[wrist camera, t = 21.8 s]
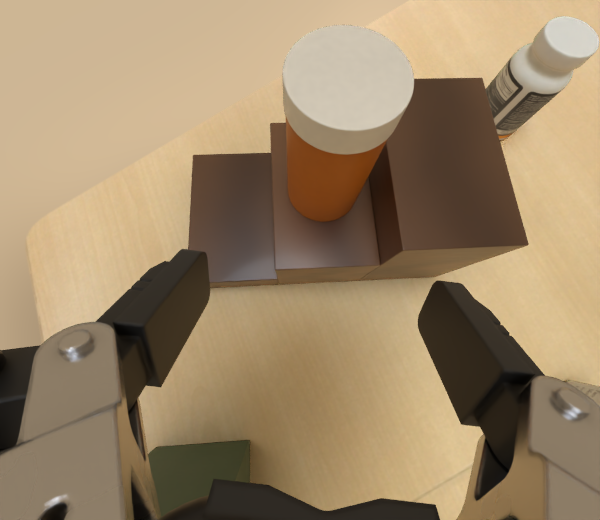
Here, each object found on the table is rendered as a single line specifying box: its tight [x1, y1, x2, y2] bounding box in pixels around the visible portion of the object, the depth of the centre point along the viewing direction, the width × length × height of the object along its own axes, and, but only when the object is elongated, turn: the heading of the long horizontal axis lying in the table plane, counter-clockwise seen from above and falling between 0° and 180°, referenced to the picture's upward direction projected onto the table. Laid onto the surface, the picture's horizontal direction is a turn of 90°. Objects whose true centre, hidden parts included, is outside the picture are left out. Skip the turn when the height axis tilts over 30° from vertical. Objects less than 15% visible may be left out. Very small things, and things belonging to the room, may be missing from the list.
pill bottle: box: [485, 16, 599, 140], centre depth 27 cm, size 6×6×10 cm
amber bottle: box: [283, 25, 414, 222], centre depth 16 cm, size 6×6×10 cm
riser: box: [188, 78, 528, 288], centre depth 23 cm, size 24×13×11 cm, turn 93°
